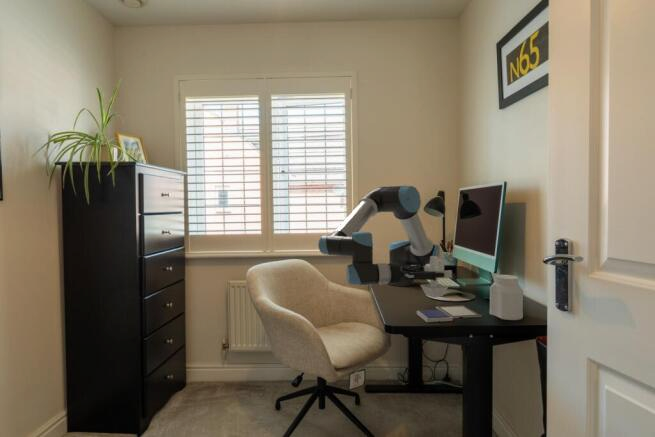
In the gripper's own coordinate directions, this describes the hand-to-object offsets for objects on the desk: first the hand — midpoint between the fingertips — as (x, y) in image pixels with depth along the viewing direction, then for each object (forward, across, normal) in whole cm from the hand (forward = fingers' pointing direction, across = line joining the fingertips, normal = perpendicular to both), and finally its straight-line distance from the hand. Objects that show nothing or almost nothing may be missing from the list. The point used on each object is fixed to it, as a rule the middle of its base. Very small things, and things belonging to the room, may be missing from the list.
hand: (445, 271), depth 136 cm
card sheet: (+8, -5, -17) cm, 20 cm away
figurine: (-5, 0, -9) cm, 10 cm away
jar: (+24, +2, -18) cm, 30 cm away
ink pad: (-4, 0, -17) cm, 18 cm away
